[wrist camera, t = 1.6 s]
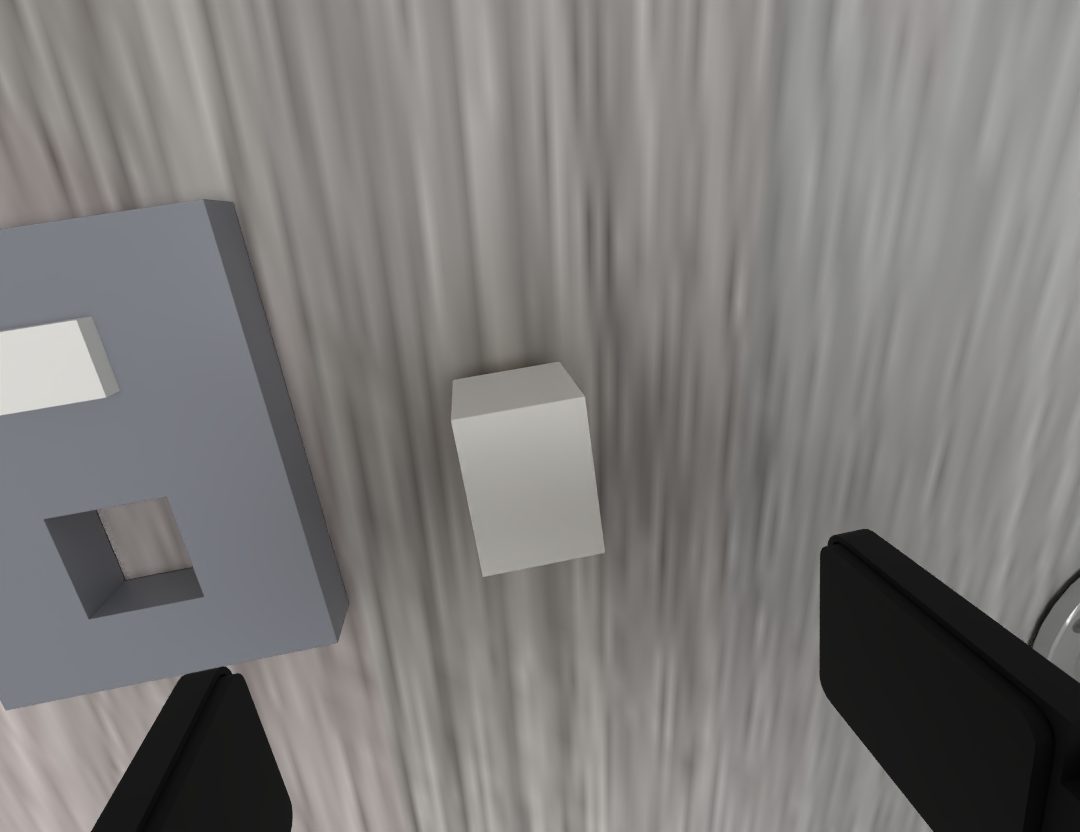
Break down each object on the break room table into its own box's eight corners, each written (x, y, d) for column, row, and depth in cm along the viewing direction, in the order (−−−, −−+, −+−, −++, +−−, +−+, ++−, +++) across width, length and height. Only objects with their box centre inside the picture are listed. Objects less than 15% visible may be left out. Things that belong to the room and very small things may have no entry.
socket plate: (348, 604, 26) (333, 657, 22) (49, 663, 25) (-11, 727, 22) (232, 202, 20) (192, 198, 17) (-149, 258, 20) (-265, 264, 16)
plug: (564, 460, 25) (605, 552, 18) (476, 476, 25) (482, 577, 18) (547, 344, 23) (585, 396, 16) (453, 361, 23) (450, 420, 16)
